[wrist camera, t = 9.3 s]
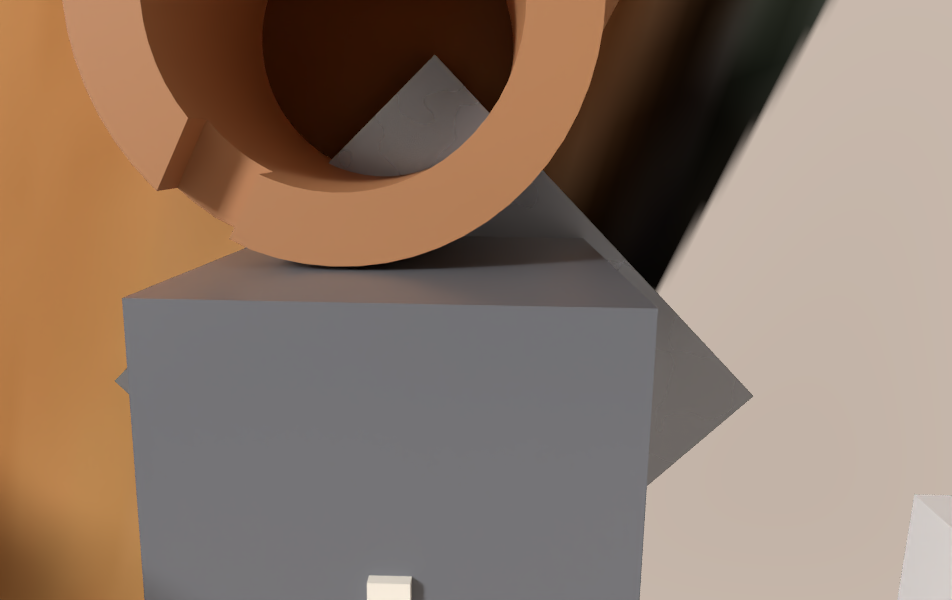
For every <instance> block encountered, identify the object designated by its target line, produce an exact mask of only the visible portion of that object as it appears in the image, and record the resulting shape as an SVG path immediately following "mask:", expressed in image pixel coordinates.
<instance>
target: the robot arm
mask: <svg viewBox="0 0 952 600" xmlns="http://www.w3.org/2000/svg"><path fill="white" fill-rule="evenodd" d="M897 600H952V495H920V494H915V495H914V500H913V506H912V512H911V519H910V525H909V531H908V537H907V543H906V550H905V556H904V562H903V568H902V574H901V581H900V586H899V593H898V599H897Z"/></svg>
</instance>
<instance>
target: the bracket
mask: <svg viewBox="0 0 952 600" xmlns="http://www.w3.org/2000/svg"><path fill="white" fill-rule="evenodd" d="M62 1H63V8H64V14H65V20H66V27H67V32H68V35H69V39H70V43H71V47H72V51H73V55H74V58H75V61H76V64H77V67H78V70H79V72H80V75H81V78H82V80H83V83H84V86H85V88H86V90H87V93H88V95H89V97H90V99H91V101H92V103H93V105H94V107H95V109H96V111H97V113H98V115H99V117H100V119H101V120H102V122H103V123H104V125H105V127H106V128H107V130H108V132H109V133H110V135H111V136H112V138H113V140H114V141H115V143H116V144H117V145H118V147H119V148H120V149H121V151H122V152H123V153H124V155H125V156H126V157H127V159H128V160H129V161H130V163H131V164H132V165H133V166H134V167H135V168H136V169H137V171H138V172H139V173H140V174H141V175H142V176H143V177H144V178H145V179H146V180H147V181H148V182H149V184H150V185H151V186H152V187H153V188H154V189H155V190H156V191H159V190H166V189H172V188H178V189H180V190H181V191H182V192H183V193H184V194H185V195H186V196H188V197H189V198H190V199H191V200H192V201H193V202H195V203H196V204H197V205H199V206H200V207H201V208H203V209H204V210H206V211H207V212H208V213H210V214H211V215H212V216H214V217H215V218H217V219H219V220H221V221H223V222H225V223H227V224H229V225H231V226H233V227H234V229H233V231H232V234H231V236H230V238H229V239H231V240H232V241H234V242H236V243H238V244H240V245H242V246H244V247H246V248H248V249H250V250H253V251H256V252H259V253H262V254H266V255H269V256H272V257H275V258H279V259H284V260H288V261H293V262H298V263H303V264H312V265H322V266H365V265H373V264H382V263H388V262H393V261H397V260H401V259H406V258H410V257H414V256H417V255H420V254H423V253H426V252H428V251H431V250H434V249H437V248H440V247H442V246H444V245H446V244H448V243H450V242H452V241H454V240H457V239H459V238H461V237H463V236H465V235H466V234H468V233H470V232H471V231H473V230H474V229H476V228H478V227H479V226H481V225H483V224H484V223H486V222H487V221H489V220H490V219H491V218H493V217H494V216H495V215H497V214H498V213H499V212H500V211H502V210H503V209H504V208H506V207H507V206H508V205H509V204H511V203H512V202H513V201H514V200H515V199H516V198H517V197H518V196H519V195H520V194H521V193H522V192H523V191H524V190H525V189H526V188H527V187H528V186H529V185H530V184H531V183H532V182H533V181H534V179H535V178H536V177H537V176H538V175H539V173H540V172H541V171H542V170H543V169H544V167H545V166H546V165H547V164H548V163H549V161H550V160H551V158H552V157H553V155H554V154H555V152H556V151H557V149H558V148H559V146H560V145H561V143H562V142H563V140H564V139H565V137H566V135H567V133H568V131H569V130H570V128H571V126H572V124H573V122H574V120H575V118H576V116H577V114H578V113H579V110H580V108H581V105H582V103H583V100H584V98H585V95H586V93H587V90H588V88H589V85H590V82H591V79H592V75H593V72H594V68H595V65H596V61H597V58H598V54H599V48H600V43H601V37H602V32H603V30H604V28H605V26H606V24H607V22H608V20H609V18H610V16H611V15H612V13H613V11H614V9H615V7H616V5H617V3H618V1H619V0H506V3H507V6H508V10H509V14H510V18H511V24H512V31H513V60H512V67H511V73H510V77H509V80H508V82H507V84H506V86H505V88H504V90H503V92H502V94H501V96H500V98H499V100H498V101H497V103H496V104H495V106H494V107H493V109H492V110H491V112H490V114H489V115H488V117H487V118H486V119H485V120H484V122H483V123H482V124H481V125H480V126H479V128H478V129H477V130H476V131H475V133H474V134H473V135H472V136H471V137H470V138H469V139H468V140H466V141H465V142H464V143H463V144H462V145H461V146H460V147H459V148H458V149H457V150H456V151H454V152H453V153H452V154H450V155H449V156H448V157H447V158H445V159H444V160H443V161H441V162H439V163H438V164H436V165H435V166H433V167H431V168H428V169H425V170H422V171H420V172H415V173H411V174H407V175H398V176H371V175H363V174H359V173H354V172H350V171H347V170H344V169H341V168H338V167H336V166H333V165H331V164H329V162H330V161H331V160H332V159H331V158H329V157H327V156H326V155H324V154H322V153H321V152H320V151H318V150H317V149H316V148H314V147H313V146H312V145H310V144H309V143H308V142H307V141H306V140H305V139H304V138H303V137H302V136H301V135H300V134H299V133H298V132H297V131H296V130H295V128H294V127H293V126H292V125H291V123H290V122H289V121H288V119H287V118H286V116H285V115H284V113H283V112H282V110H281V108H280V106H279V105H278V103H277V101H276V99H275V96H274V94H273V92H272V90H271V87H270V84H269V81H268V78H267V74H266V69H265V64H264V58H263V49H262V31H263V21H264V15H265V10H266V5H267V2H268V0H62Z"/></svg>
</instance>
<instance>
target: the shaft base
mask: <svg viewBox="0 0 952 600" xmlns="http://www.w3.org/2000/svg"><path fill="white" fill-rule="evenodd" d="M489 114H490V113H489V112H488V111H487V110H486V109H485V108H484V107H483V106H482V105H481V104H480V102H479V101H478V100H477V99H476V98H475V97H474V96H473V95H472V94H471V93H470V92H469V91H468V90H467V89H466V87H465V86H464V85H463V84H462V83H461V82H460V81H459V80H458V79H457V78H456V77H455V76H454V75H453V74H452V72H451V71H450V70H449V69H448V68H447V67H446V66H445V65H444V64H443V63H442V62H441V61H440V60H439V58H438V57H437V56H436V55H434V56H433V57H432V58H431V59H430V60H429V61H428V62H427V63H426V64H425V65H424V66H423V67H422V68H421V69H420V70H419V71H418V72H417V73H416V74H415V75H414V76H413V77H412V78H411V79H410V80H409V81H408V82H407V83H406V84H405V85H404V86H403V88H402V89H401V90H400V91H399V92H398V93H397V94H396V95H395V96H394V97H393V98H392V99H391V100H390V101H389V102H388V103H387V104H386V105H385V106H384V107H383V108H382V109H381V110H380V111H379V112H378V113H377V114H376V115H375V116H374V117H373V118H372V119H371V120H370V121H369V122H368V123H367V124H366V125H365V126H364V127H363V128H362V129H361V130H360V131H359V132H358V133H357V134H356V135H355V136H354V137H353V138H352V140H351V141H350V142H349V143H348V144H347V145H346V146H345V147H344V148H343V149H342V150H341V151H340V152H339V153H338V154H337V155H336V156H335V157H334V158H333V159H332V160H331V161H330V162H329V164H331V165H333V166H336V167H338V168H341V169H344V170H347V171H350V172H354V173H359V174H363V175H371V176H398V175H407V174H411V173H415V172H420V171H422V170H425V169H428V168H431V167H433V166H435V165H436V164H438V163H439V162H441V161H443V160H444V159H445V158H447V157H448V156H449V155H450V154H452V153H453V152H454V151H456V150H457V149H458V148H459V147H460V146H461V145H462V144H463V143H464V142H465V141H466V140H468V139H469V138H470V137H471V136H472V135H473V134H474V133H475V131H476V130H477V129H478V128H479V126H480V125H481V124H482V123H483V122H484V120H485V119H486V118H487V117H488V115H489ZM465 236H484V237H539V238H584V239H585V240H586V241H587V242H588V243H589V244H590V245H591V246H592V247H593V248H594V249H595V250H596V251H597V252H598V253H599V254H601V255H602V256H603V257H604V258H605V259H606V260H607V261H608V262H609V263H610V264H611V265H612V266H613V267H614V268H615V269H616V270H618V271H619V272H620V273H621V274H622V275H623V276H624V277H625V278H626V279H627V280H628V281H629V282H630V283H631V284H632V285H633V286H635V287H636V288H637V289H638V290H639V291H640V292H641V293H642V294H643V295H644V296H645V297H646V298H647V299H648V300H649V301H650V302H652V303H653V304H654V305H655V306H656V307H657V308H658V317H657V332H656V348H655V364H654V379H653V395H652V411H651V426H650V442H649V458H648V473H647V485H649V484H650V483H651V482H652V481H653V480H654V479H655V478H657V477H658V476H659V475H660V474H662V473H663V472H664V471H665V470H666V469H668V468H669V467H670V466H671V465H672V464H674V462H676V461H677V460H678V459H679V458H681V457H682V456H683V455H684V454H685V453H687V452H688V451H689V450H690V449H691V448H692V447H694V446H695V445H696V444H697V443H698V442H699V441H701V440H702V439H703V438H704V437H706V436H707V435H708V434H709V433H710V432H711V431H713V430H714V429H715V428H716V427H717V426H719V425H720V424H721V423H722V422H723V421H724V420H726V419H727V418H728V417H729V416H730V415H732V414H733V413H734V412H735V411H736V410H737V409H739V408H740V407H741V406H742V405H743V404H745V403H746V402H747V401H748V400H749V399H751V398H752V397H753V395H752V394H751V393H750V392H749V391H748V390H747V389H746V388H745V387H744V386H743V385H742V383H740V381H739V380H738V379H737V378H736V377H735V376H734V375H733V374H732V373H731V372H730V371H729V370H728V368H727V367H726V366H725V365H724V364H723V363H722V362H721V361H720V360H719V359H718V358H717V357H716V356H715V355H714V353H713V352H712V351H711V350H710V349H709V348H708V347H707V346H706V345H705V344H704V343H703V342H702V341H701V340H700V338H699V337H698V336H697V335H696V334H695V333H694V332H693V331H692V330H691V329H690V328H689V327H688V326H687V325H686V323H685V322H684V321H683V320H682V319H681V318H680V317H679V316H678V315H677V314H676V313H675V312H674V311H673V309H672V308H671V307H670V306H669V305H668V304H667V303H666V302H665V301H664V300H663V299H662V298H661V297H660V296H659V294H658V293H657V292H656V291H655V290H654V289H653V288H652V287H651V286H650V285H649V284H648V283H647V282H646V280H645V279H644V278H643V277H642V276H641V275H640V274H639V273H638V272H637V271H636V270H635V269H634V268H633V267H632V265H631V264H630V263H629V262H628V261H627V260H626V259H625V258H624V257H623V256H622V255H621V254H620V253H619V252H618V250H617V249H616V248H615V247H614V246H613V245H612V244H611V243H610V242H609V241H608V240H607V239H606V238H605V237H604V235H603V234H602V233H601V232H600V231H599V230H598V229H597V228H596V227H595V226H594V225H593V224H592V223H591V222H590V220H589V219H588V218H587V217H586V216H585V215H584V214H583V213H582V212H581V211H580V210H579V209H578V208H577V206H576V205H575V204H574V203H573V202H572V201H571V200H570V199H569V198H568V197H567V196H566V195H565V194H564V193H563V191H562V190H561V189H560V188H559V187H558V186H557V185H556V184H555V183H554V182H553V181H552V180H551V179H550V178H549V176H548V175H547V174H546V173H545V172H544V171H543V170H542V171H541V172H540V173H539V175H538V176H537V177H536V178H535V179H534V181H533V182H532V183H531V184H530V185H529V186H528V187H527V188H526V189H525V190H524V191H523V192H522V193H521V194H520V195H519V196H518V197H517V198H516V199H515V200H514V201H513V202H512V203H511V204H509V205H508V206H507V207H506V208H504V209H503V210H502V211H500V212H499V213H498V214H497V215H495V216H494V217H493V218H491V219H490V220H489V221H487V222H486V223H484V224H483V225H481V226H479V227H478V228H476V229H474V230H473V231H471V232H470V233H468V234H466V235H465ZM115 382H116V383H117V384H119V385H120V386H121V387H122V388H123V389H124V390H125V391H126V392H127V393H128V394H129V384H128V370H127V369H126V370H125V371H124V372H123V373H122V374H121V375H120V376H119V377H118V378H117V379H116V380H115Z"/></svg>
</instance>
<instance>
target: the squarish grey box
mask: <svg viewBox="0 0 952 600" xmlns="http://www.w3.org/2000/svg"><path fill="white" fill-rule="evenodd" d="M122 303H123V317H124V330H125V343H126V357H127V370H128V384H129V397H130V410H131V424H132V437H133V451H134V464H135V477H136V491H137V504H138V518H139V531H140V544H141V558H142V571H143V585H144V598H145V600H639V597H640V583H641V567H642V551H643V534H644V520H645V504H646V489H647V473H648V458H649V442H650V426H651V411H652V395H653V379H654V364H655V348H656V332H657V317H658V308H657V307H656V306H655V305H654V304H653V303H652V302H650V301H649V300H648V299H647V298H646V297H645V296H644V295H643V294H642V293H641V292H640V291H639V290H638V289H637V288H636V287H635V286H633V285H632V284H631V283H630V282H629V281H628V280H627V279H626V278H625V277H624V276H623V275H622V274H621V273H620V272H619V271H618V270H616V269H615V268H614V267H613V266H612V265H611V264H610V263H609V262H608V261H607V260H606V259H605V258H604V257H603V256H602V255H601V254H599V253H598V252H597V251H596V250H595V249H594V248H593V247H592V246H591V245H590V244H589V243H588V242H587V241H586V240H585V239H584V238H539V237H484V236H463V237H461V238H459V239H457V240H454V241H452V242H450V243H448V244H446V245H444V246H442V247H440V248H437V249H434V250H431V251H428V252H426V253H423V254H420V255H417V256H414V257H410V258H406V259H401V260H397V261H393V262H388V263H382V264H373V265H365V266H322V265H312V264H303V263H298V262H293V261H288V260H284V259H279V258H275V257H272V256H269V255H266V254H262V253H259V252H256V251H253V250H250V249H248V248H245V249H242V250H240V251H237V252H235V253H232V254H230V255H227V256H225V257H223V258H220V259H218V260H215V261H213V262H210V263H208V264H205V265H203V266H200V267H198V268H195V269H193V270H190V271H188V272H185V273H183V274H181V275H178V276H176V277H173V278H171V279H168V280H166V281H163V282H161V283H158V284H156V285H153V286H151V287H148V288H146V289H144V290H141V291H139V292H136V293H134V294H131V295H129V296H126V297H124V298H122Z"/></svg>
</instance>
